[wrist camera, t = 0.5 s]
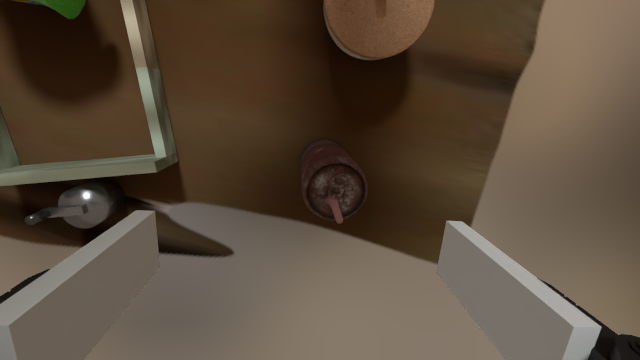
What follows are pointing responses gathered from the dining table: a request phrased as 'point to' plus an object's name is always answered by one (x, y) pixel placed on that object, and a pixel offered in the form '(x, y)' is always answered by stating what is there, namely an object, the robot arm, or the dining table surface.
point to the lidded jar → (376, 25)
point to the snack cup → (61, 6)
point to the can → (331, 181)
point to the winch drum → (85, 204)
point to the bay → (6, 169)
